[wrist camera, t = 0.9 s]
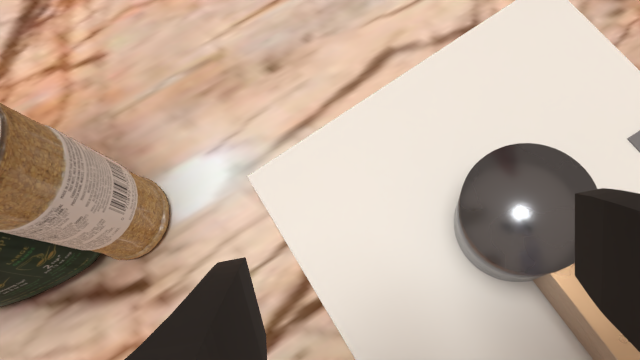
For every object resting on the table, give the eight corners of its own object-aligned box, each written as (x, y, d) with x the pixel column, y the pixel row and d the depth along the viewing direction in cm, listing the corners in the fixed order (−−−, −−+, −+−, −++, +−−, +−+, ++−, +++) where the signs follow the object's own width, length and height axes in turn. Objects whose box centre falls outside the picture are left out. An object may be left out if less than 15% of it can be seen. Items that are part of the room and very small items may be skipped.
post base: (840, 291, 20) (863, 289, 19) (463, 535, 20) (465, 546, 19) (542, -8, 26) (547, -22, 25) (253, 181, 26) (246, 175, 25)
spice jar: (103, 178, 28) (-158, 54, 15) (179, 179, 27) (-32, 49, 14) (87, 260, 27) (-212, 200, 14) (166, 264, 26) (-78, 204, 13)
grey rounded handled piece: (431, 209, 23) (433, 189, 20) (523, 149, 23) (540, 119, 20) (600, 442, 19) (637, 465, 16) (710, 370, 19) (770, 379, 16)
